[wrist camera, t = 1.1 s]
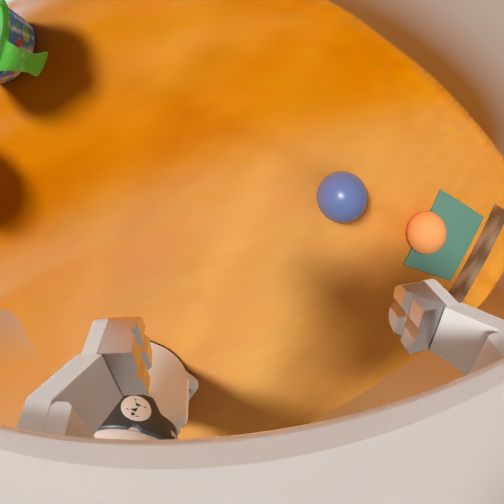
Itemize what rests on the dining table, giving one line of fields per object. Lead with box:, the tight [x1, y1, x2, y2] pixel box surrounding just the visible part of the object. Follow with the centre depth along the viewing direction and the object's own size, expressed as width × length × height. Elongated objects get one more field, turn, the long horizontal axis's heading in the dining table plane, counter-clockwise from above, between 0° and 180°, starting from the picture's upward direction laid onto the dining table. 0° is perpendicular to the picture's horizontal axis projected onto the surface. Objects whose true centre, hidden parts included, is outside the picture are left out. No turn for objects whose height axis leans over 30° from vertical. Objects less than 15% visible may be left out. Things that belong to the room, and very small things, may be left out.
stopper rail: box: [449, 205, 504, 303], centre depth 44 cm, size 18×2×2 cm, turn 160°
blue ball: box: [317, 172, 368, 223], centre depth 34 cm, size 6×6×6 cm
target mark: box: [404, 190, 483, 281], centre depth 42 cm, size 12×12×1 cm
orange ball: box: [407, 211, 447, 254], centre depth 38 cm, size 6×6×6 cm
